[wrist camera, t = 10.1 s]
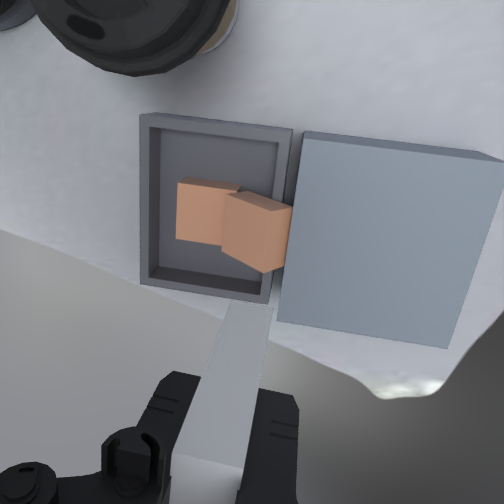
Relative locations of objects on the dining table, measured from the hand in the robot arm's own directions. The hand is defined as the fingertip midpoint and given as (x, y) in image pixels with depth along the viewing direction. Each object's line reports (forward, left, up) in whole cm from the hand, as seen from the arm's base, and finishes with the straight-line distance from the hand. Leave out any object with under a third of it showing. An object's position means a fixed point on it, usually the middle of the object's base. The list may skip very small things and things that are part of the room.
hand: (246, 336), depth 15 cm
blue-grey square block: (+8, -2, -23) cm, 25 cm away
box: (-6, -2, -23) cm, 24 cm away
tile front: (-1, -2, -20) cm, 20 cm away
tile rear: (-6, -2, -20) cm, 21 cm away
